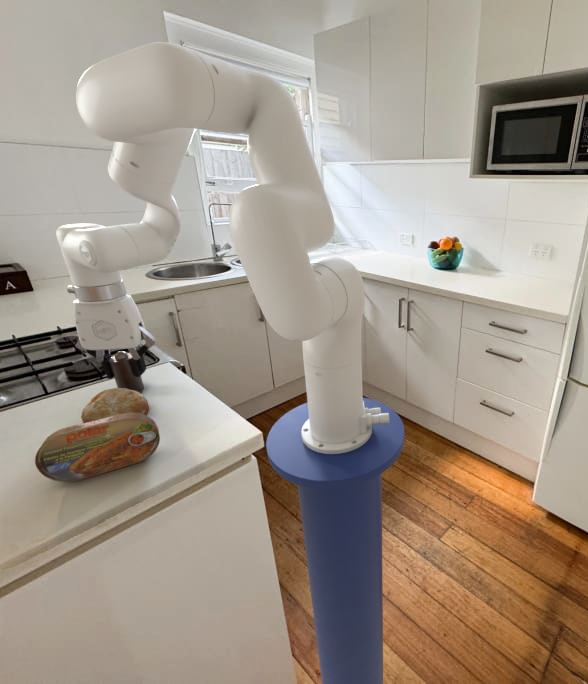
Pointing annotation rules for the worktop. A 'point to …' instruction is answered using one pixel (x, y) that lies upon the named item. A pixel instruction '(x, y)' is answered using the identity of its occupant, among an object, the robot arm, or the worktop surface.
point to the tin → (97, 447)
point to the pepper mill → (125, 372)
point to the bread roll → (115, 404)
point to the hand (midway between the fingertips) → (127, 374)
